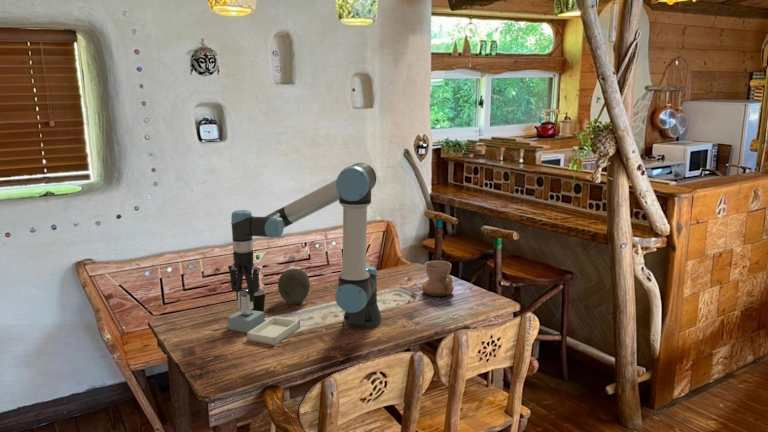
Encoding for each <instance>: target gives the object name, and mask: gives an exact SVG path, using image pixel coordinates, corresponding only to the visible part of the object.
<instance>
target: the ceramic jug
mask: <svg viewBox="0 0 768 432" xmlns="http://www.w3.org/2000/svg"><path fill="white" fill-rule="evenodd" d="M424 268H425V269H424V270H425V272H426V276H427V278H428V279H427V280H425V281H424V282H422V285H421V289H422V291H423V293H425V294H426V295H428V296H431V295H432V297H445V295H446V296H449V295H450V294H452V293H453V291H454V289H455V287H454V285H453V276H452V275H450V273H451V271H452V263H450V262H449V261H444V260H430V261H426V262H425V263H424Z"/></svg>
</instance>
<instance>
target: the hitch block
mask: <svg viewBox="0 0 768 432" xmlns="http://www.w3.org/2000/svg"><path fill="white" fill-rule="evenodd" d="M265 319H266V318H265V311H264V312H261V311H255V310H251V316H249V317H243V316H242V313H241V309H239V310H238V311H237V312H235V313H233V314H231V315H228V317H227V322H228V323H227V325H228V328H227V329H228V330H231V331H236V332H240V333H241V332H242V333H247V332H249V331H250V330H252V329H254V328H255V327H257V326H259V325H260V324H262V323H263V322H265V321H266V320H265Z"/></svg>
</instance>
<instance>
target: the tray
mask: <svg viewBox="0 0 768 432" xmlns="http://www.w3.org/2000/svg"><path fill="white" fill-rule="evenodd" d="M299 329H301V320H298V319H293V318H288V317H287V318H286V317H280V316H272V317H270V318H268V319H267V320H265V322H263V323H262V324H260V325H259V326H257V327H255V328H254V329H252V330H250V331H249V332H246V339H247V341H248V342H249V341H250V342H254V343H260V344H266V345H271V346H276V345H278V344H279V343H281V342H282V341H283V340H285V339H286V338H287V337H289V336H291V335H292V334H293V333H295V332H296V331H297V330H299Z"/></svg>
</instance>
